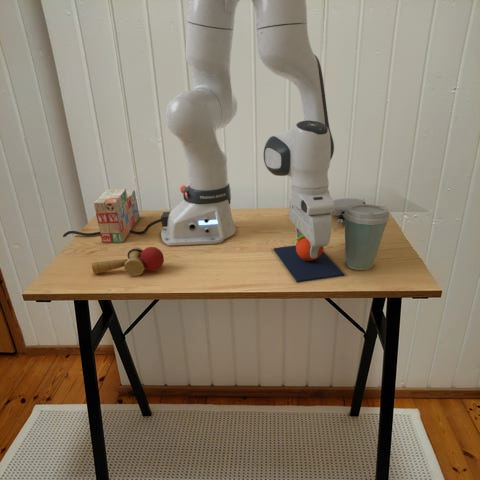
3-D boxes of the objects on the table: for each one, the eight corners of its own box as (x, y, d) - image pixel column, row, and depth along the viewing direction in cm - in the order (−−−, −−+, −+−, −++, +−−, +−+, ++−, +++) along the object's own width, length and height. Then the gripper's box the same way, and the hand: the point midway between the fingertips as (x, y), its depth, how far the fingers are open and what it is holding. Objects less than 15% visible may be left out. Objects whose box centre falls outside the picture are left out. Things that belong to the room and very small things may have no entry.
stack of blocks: (121, 217, 151) (114, 180, 145) (139, 217, 151) (133, 180, 144) (102, 243, 133) (93, 202, 127) (123, 242, 133) (115, 201, 126)
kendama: (94, 286, 113) (164, 271, 113) (86, 262, 111) (158, 247, 110) (101, 277, 120) (167, 263, 120) (93, 254, 118) (161, 240, 118)
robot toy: (375, 229, 136) (361, 209, 148) (378, 215, 134) (363, 195, 146) (335, 231, 136) (324, 211, 148) (337, 217, 133) (325, 198, 145)
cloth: (297, 282, 108) (297, 280, 108) (273, 249, 125) (273, 248, 124) (344, 275, 110) (344, 274, 110) (315, 244, 127) (315, 242, 126)
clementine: (294, 266, 114) (295, 240, 110) (289, 255, 120) (289, 230, 116) (325, 264, 115) (327, 238, 111) (319, 253, 120) (320, 227, 117)
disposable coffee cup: (335, 256, 119) (340, 200, 111) (377, 255, 119) (385, 199, 111) (342, 275, 110) (347, 215, 102) (387, 274, 110) (396, 214, 102)
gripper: (283, 185, 116) (282, 236, 124) (310, 210, 99) (308, 267, 107) (307, 182, 117) (304, 233, 125) (338, 207, 100) (333, 264, 108)
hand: (306, 249), depth 115 cm, fingers open, 8 cm apart
